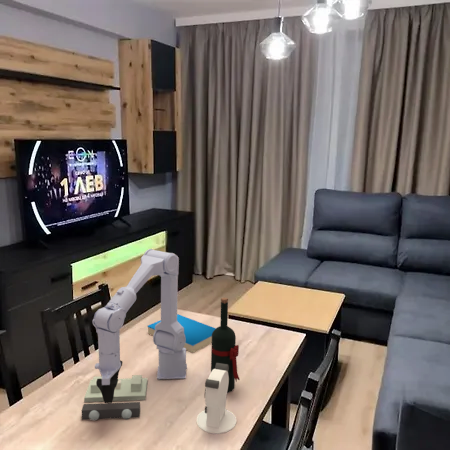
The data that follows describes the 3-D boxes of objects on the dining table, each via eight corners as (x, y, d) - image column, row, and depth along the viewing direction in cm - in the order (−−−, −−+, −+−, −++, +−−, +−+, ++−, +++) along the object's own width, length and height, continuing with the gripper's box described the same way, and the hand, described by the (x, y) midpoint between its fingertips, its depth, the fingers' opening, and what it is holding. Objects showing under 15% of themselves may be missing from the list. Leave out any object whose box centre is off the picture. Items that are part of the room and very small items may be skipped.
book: (193, 344, 164) (146, 325, 179) (193, 355, 165) (146, 335, 180) (222, 329, 178) (176, 312, 193) (221, 339, 179) (176, 321, 193)
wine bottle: (229, 399, 137) (232, 307, 131) (205, 387, 144) (206, 298, 137) (245, 388, 143) (248, 300, 137) (221, 377, 149) (223, 292, 143)
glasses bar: (140, 411, 131) (140, 402, 130) (139, 418, 127) (138, 409, 127) (84, 413, 129) (83, 404, 128) (81, 421, 126) (81, 411, 125)
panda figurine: (204, 404, 134) (205, 358, 131) (241, 411, 132) (242, 364, 128) (190, 429, 123) (191, 379, 120) (230, 437, 120) (231, 387, 117)
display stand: (147, 382, 146) (147, 370, 145) (145, 400, 136) (144, 388, 135) (90, 383, 144) (90, 372, 143) (84, 402, 134) (83, 390, 133)
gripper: (99, 338, 131) (100, 380, 133) (89, 363, 117) (91, 410, 119) (123, 338, 131) (124, 380, 134) (116, 362, 117) (118, 409, 120)
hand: (110, 394), depth 127 cm, fingers open, 7 cm apart
